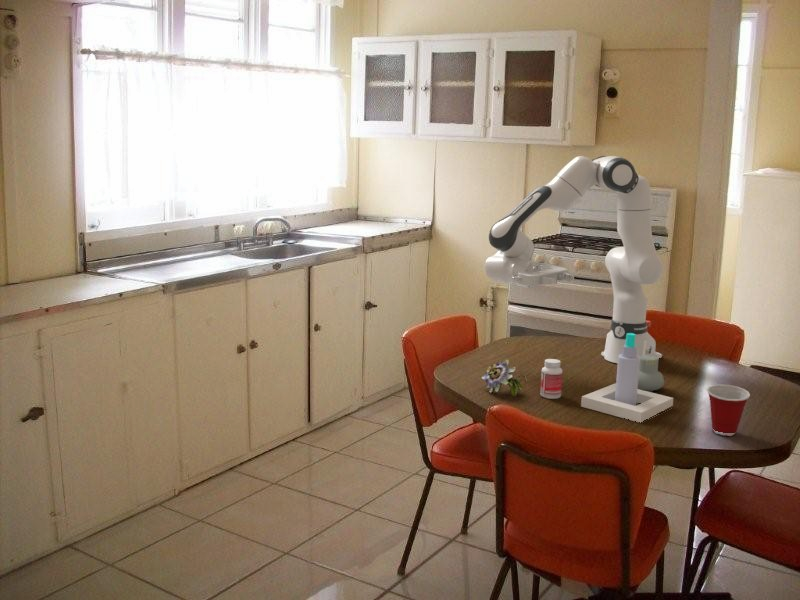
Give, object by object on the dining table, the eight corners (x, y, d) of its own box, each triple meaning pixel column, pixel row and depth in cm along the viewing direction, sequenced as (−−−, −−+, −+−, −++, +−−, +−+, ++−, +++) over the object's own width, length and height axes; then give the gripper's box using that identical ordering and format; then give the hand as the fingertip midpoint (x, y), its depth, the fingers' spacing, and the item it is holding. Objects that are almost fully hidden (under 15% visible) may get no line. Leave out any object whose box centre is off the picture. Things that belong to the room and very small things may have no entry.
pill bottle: (565, 397, 261) (567, 361, 259) (550, 400, 258) (552, 364, 255) (550, 391, 266) (553, 356, 264) (535, 394, 263) (538, 359, 261)
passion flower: (491, 410, 265) (472, 375, 266) (515, 397, 271) (496, 363, 273) (512, 398, 256) (492, 362, 258) (536, 385, 262) (517, 350, 264)
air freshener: (665, 394, 267) (668, 362, 265) (638, 393, 266) (641, 362, 264) (653, 383, 278) (655, 353, 276) (627, 383, 277) (630, 352, 275)
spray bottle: (627, 412, 249) (634, 337, 244) (610, 407, 253) (615, 333, 249) (639, 408, 253) (646, 334, 248) (622, 403, 257) (627, 330, 253)
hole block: (614, 392, 267) (615, 383, 266) (672, 407, 254) (673, 397, 253) (580, 406, 253) (581, 396, 253) (640, 422, 240) (641, 412, 240)
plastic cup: (701, 436, 231) (706, 393, 229) (703, 423, 241) (707, 382, 239) (745, 443, 227) (750, 399, 225) (745, 429, 237) (750, 387, 235)
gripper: (509, 267, 275) (546, 273, 266) (546, 261, 290) (582, 266, 281) (508, 287, 277) (545, 294, 268) (545, 279, 291) (581, 286, 282)
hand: (564, 280), depth 274 cm, fingers open, 8 cm apart
